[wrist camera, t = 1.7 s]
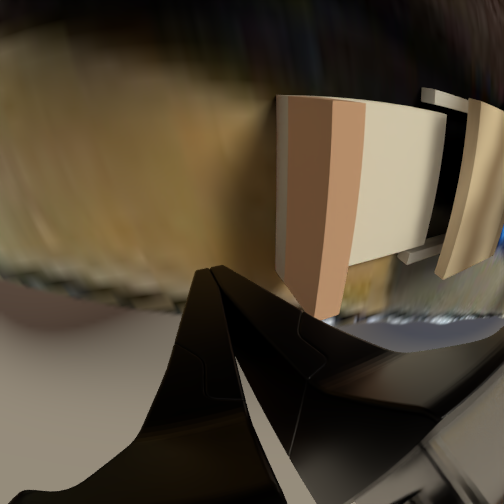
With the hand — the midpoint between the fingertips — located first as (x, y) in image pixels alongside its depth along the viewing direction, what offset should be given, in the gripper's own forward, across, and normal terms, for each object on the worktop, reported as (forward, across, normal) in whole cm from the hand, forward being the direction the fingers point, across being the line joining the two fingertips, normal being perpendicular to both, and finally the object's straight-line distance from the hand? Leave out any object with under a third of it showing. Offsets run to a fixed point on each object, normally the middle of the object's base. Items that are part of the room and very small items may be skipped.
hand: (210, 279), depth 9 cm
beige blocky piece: (+7, -11, 0) cm, 13 cm away
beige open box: (+6, -20, 0) cm, 21 cm away
